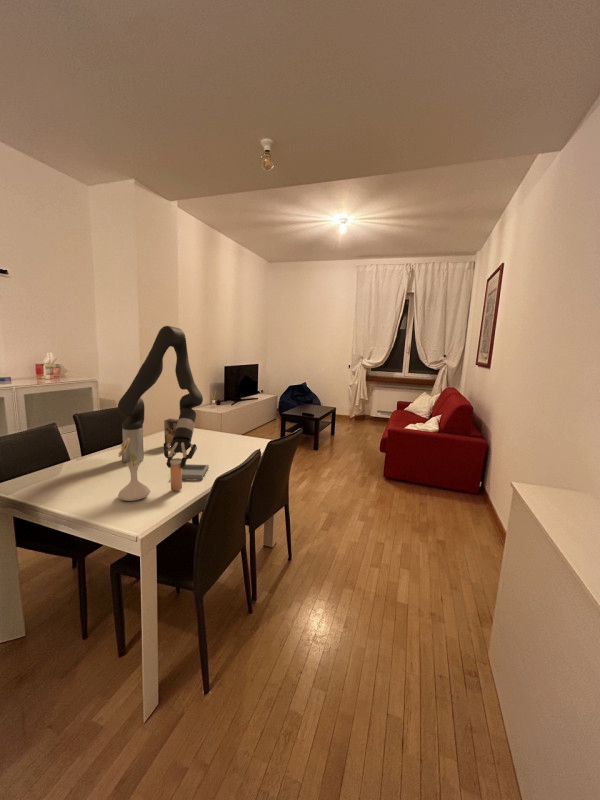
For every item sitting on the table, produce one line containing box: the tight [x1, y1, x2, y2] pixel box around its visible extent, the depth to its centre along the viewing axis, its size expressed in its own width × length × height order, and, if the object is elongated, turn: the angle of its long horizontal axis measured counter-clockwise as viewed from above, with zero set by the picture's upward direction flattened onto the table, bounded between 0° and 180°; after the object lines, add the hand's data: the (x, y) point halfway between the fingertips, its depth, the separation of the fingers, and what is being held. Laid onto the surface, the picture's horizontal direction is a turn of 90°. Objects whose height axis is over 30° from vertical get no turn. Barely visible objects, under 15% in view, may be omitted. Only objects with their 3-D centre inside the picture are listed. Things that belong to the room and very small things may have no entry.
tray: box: [182, 463, 210, 481], centre depth 154 cm, size 13×13×2 cm
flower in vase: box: [117, 437, 151, 502], centre depth 126 cm, size 13×11×25 cm
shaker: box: [169, 457, 183, 491], centre depth 135 cm, size 5×5×12 cm
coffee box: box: [163, 418, 179, 444], centre depth 194 cm, size 9×6×16 cm
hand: (175, 467), depth 133 cm, fingers closed on shaker, 4 cm apart
